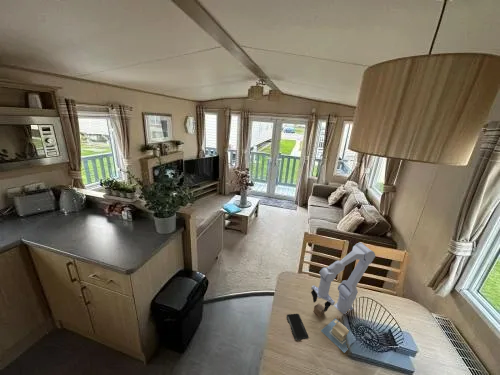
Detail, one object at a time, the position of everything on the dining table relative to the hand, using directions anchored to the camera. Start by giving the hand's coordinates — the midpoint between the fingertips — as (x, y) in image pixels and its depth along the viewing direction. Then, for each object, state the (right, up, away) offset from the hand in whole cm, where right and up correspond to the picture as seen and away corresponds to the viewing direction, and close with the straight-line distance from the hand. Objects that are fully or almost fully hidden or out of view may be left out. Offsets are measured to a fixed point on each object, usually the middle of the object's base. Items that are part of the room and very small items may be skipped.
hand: (320, 306), depth 126 cm
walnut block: (0, -5, +2) cm, 6 cm away
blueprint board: (+7, -10, -11) cm, 16 cm away
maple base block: (+7, -9, -11) cm, 16 cm away
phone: (-15, -8, -8) cm, 19 cm away
